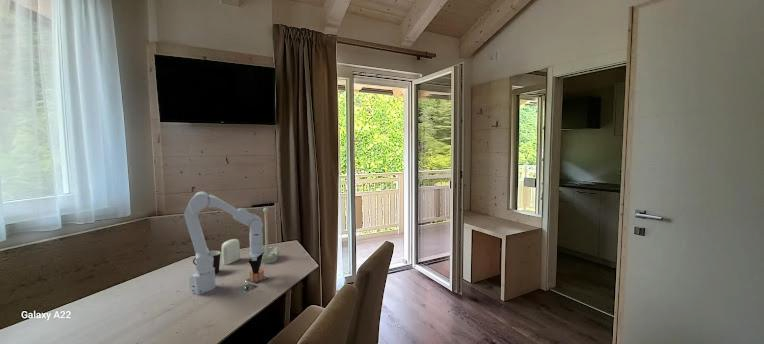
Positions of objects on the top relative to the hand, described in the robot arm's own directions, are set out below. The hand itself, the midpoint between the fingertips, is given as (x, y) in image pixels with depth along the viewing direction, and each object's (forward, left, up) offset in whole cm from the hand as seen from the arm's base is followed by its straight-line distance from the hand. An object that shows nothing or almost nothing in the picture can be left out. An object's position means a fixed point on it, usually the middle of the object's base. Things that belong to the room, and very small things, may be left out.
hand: (256, 270), depth 148 cm
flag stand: (+22, +19, -6) cm, 29 cm away
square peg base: (0, 0, -6) cm, 6 cm away
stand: (-8, -3, -6) cm, 10 cm away
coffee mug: (-5, +30, -6) cm, 31 cm away
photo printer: (+10, +34, -6) cm, 36 cm away
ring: (0, 0, -4) cm, 4 cm away
